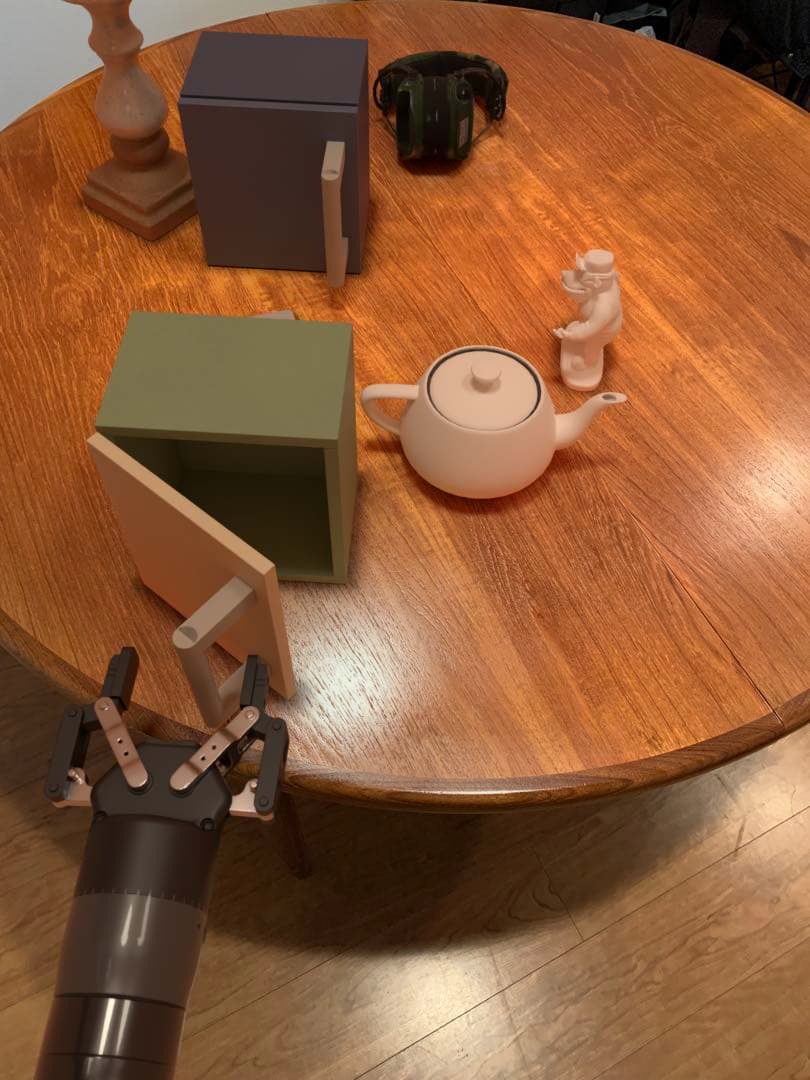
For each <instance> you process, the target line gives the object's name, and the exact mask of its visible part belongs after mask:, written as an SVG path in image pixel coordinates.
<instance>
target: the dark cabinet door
mask: <svg viewBox="0 0 810 1080" xmlns="http://www.w3.org/2000/svg"><path fill="white" fill-rule="evenodd" d="M176 106H177V109H178V116H179V120H180V127H181V131H182V137H183V143H184V148H185V152H186V156H187V158H188V163H189V169H190V174H191V179H192V184H193V190H194V195H195V200H196V205H197V211H198V212H197V214H198V215H197V216H198V221H199V226H200V231H201V236H202V242H203V247H204V252H205V257H206V263H207V266H221V267H222V266H223V267H224V266H226V267H242V268H258V269H259V268H261V269H278V270H292V271H293V270H294V271H313V272H326V278H327V281H326V282H327V284H328V286H329V287H330V288H332V289H338V288H341V287H343V286H344V284H345V278H346V277H345V276H346V273H347V274H348V273H349V274H351V273H353V274H361V273H362V266H361V220H360V172H359V125H358V107H353V106H334V105H315V104H296V103H278V102H259V101H240V100H221V99H202V98H183V97H180V96H179V97H178V100H177V102H176Z"/></svg>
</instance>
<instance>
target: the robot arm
mask: <svg viewBox="0 0 810 1080" xmlns="http://www.w3.org/2000/svg"><path fill="white" fill-rule="evenodd" d="M139 667H140V655H139V653H138V652H137V649H136V647H135V646H125V645H123V646H122V647H121V649H120V653H119V654H117V653H114V654H113V655H112V657H111V658H110V660H109V662H108V665H107V670H106V673H105V677H104V681H103V684H102V688H101V691H100V694H99V697H98V699H96V700H95V701H94V702H92V703H89V704H84V705H79V704H76V703H73V704H69V705H67V706H66V707H65V708H64V710H63V712H62V716H61V719H60V723H59V727H58V730H57V735H56V739H55V743H54V747H53V751H52V754H51V758H50V762H49V766H48V770H47V774H46V778H45V781H44V786H43V794H44V796H45V797H46V798H47V799H48V801H49V802H50V803H51V804H52V805H53V806H54V807H55V808H56V809H57V810H58V811H61V812H68V811H69V810H71V809H72V808H73V807H91V808H92V820H91V823H90V826H89V829H88V834H87V838H86V842H85V845H84V850H83V854H82V858H81V862H80V866H79V870H78V874H77V878H76V882H75V886H74V889H73V894H72V898H71V902H70V906H69V910H68V914H67V918H66V923H65V926H64V930H63V933H62V939H61V942H60V946H59V952H58V959H57V965H56V967H57V968H56V975H55V984H54V990H53V994H52V997H53V999H52V1000H51V1003H50V1007H49V1011H48V1016H47V1019H46V1023H45V1028H44V1032H43V1036H42V1040H41V1043H40V1047H39V1051H38V1056H37V1059H36V1064H35V1069H34V1073H33V1077H32V1080H176V1076H177V1075H176V1074H177V1067H178V1062H179V1056H180V1050H181V1046H182V1045H181V1044H182V1038H183V1034H184V1033H183V1032H184V1027H185V1021H186V1016H187V1015H186V1014H187V1010H188V1006H189V1001H190V997H191V994H192V990H193V987H194V983H195V981H196V978H197V974H198V969H199V966H200V960H201V956H202V951H203V947H204V944H205V943H206V939H207V932H208V927H207V921H208V915H209V909H210V903H211V896H212V890H213V884H214V878H215V873H216V867H217V860H218V854H219V849H220V843H221V838H222V833H223V829H224V827H225V826H226V823H227V822H228V820H230V819H231V817H232V816H237V817H246V818H258V821H259V822H260V823H261V824H263V825H268V826H269V825H272V824H274V823H275V822H276V821H277V820H278V816H279V810H280V805H281V798H282V793H283V786H284V779H285V775H286V769H287V768H286V767H287V762H288V755H289V750H290V742H291V738H290V734H289V730H288V724H287V722H286V720H285V719H284V718H282V717H277V716H276V717H273V716H270V715H268V714H267V713H266V709H267V708H266V707H267V700H268V693H269V688H270V686H269V682H270V680H269V675H268V671H267V667H266V664H261V660H260V656H259V655H249V654H248V656H247V662H246V668H245V673H244V679H243V685H242V691H241V697H240V703H239V705H240V708H239V709H240V711H239V712H238V713H237V715H235V717H233V719H232V720H230V722H229V723H227V724H226V726H224V727H223V728H219V729H218V730H217V731H215V732H214V733H213V735H212V736H210V737H209V739H208V740H206V741H205V743H204V744H200V743H198V740H193V739H180V740H175V741H169V740H166V739H163V738H160V737H145V740H143V741H140V742H137V743H135V741H134V739H133V737H132V735H131V733H130V731H129V728H128V727H127V725H126V722H125V720H124V718H123V714H124V712H128V711H129V709H130V704H131V700H132V697H133V692H134V687H135V685H136V680H137V675H138V671H139ZM99 730H103V731H104V735H105V737H106V739H107V741H108V743H109V745H110V747H111V749H112V751H113V754H114V757H115V758H116V760H117V761H116V762H115V764H113V765H112V766H111V767H110V768H109V769H108V770H107V771H106V772H105V773H104V774H103V775H102V776H100V777H99V778H98V780H97V781H95V782H94V784H93V785H92V786H91V785H90V784H89V783H90V778H89V776H88V774H87V773H86V772H85V770H84V765H85V761H86V758H87V754H88V748H89V745H90V741H91V737H92V732H96V731H99ZM257 740H259V741H262V742H263V747H262V753H261V760H260V764H259V770H258V775H257V778H253V779H250V780H249V781H247V782H246V784H245V786H244V789H243V790H242V791H241V793H239V794H237V795H233V794H232V791H231V789H230V787H229V785H228V783H227V782H226V779H225V778H226V777H227V776H228V775H229V774H230V773H231V772H232V771H233V770H234V769H235V768H236V766H238V764H239V763H240V762H241V760H242V758H243V756H244V755H245V753H246V752H248V751H249V749H250V748H251V747H252V746H253V745H254V743H255V742H257Z"/></svg>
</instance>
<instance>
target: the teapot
mask: <svg viewBox="0 0 810 1080" xmlns="http://www.w3.org/2000/svg"><path fill="white" fill-rule="evenodd" d="M359 398H360V399H359V402H360V407H361V408H362V409H361V410H362V411H363V413H364V415H366V416H367V418H368V419H369V420H371V422H373V423H374V424H375V425H377V426H379V427H380V428H382V429H383V430H385V431H387V432H389V433H390V434H393V435H396V436H398V437H399V438H400V444H401V447H402V450H403V454H404V455H405V457H406V459H407V461H408V463H409V464H410V465H411V468H413V469H414V471H416V473H417V474H418V475H419V476H420V477H421V478H422V479H423V480H425V481H426V482H427V483H428V484H429V485H432V486H433V487H435V488H437V489H439V490H441V491H443V492H445V493H448V494H452V495H454V496H457V497H464V498H468V499H494V498H500V497H506V496H508V495H511V494H514V493H517V492H520V491H522V490H523V489H525V488H526V487H528V486H531V484H532V483H534V482H535V481H536V480H537V479H538V478H540V476H541V475H543V474H544V472H545V471H546V470H547V468H548V467H549V465H550V463H551V462H552V459H553V457H554V455H555V454H554V453H555V451H559V450H563V449H567V448H568V447H572V446H573V445H575V444H576V443H578V441H579V440H581V439H582V438H583V436H584V435H585V433H586V432H587V431H588V430H589V428H590V426H591V424H592V423H593V422H594V421H595V419H596V417H597V416H598V415H599V414H600V413H601V412H603V411H605V409H607V408H609V407H612V406H615V405H617V404H618V405H619V404H621V403H624V402H626V401H627V399H628V397H627V395H625V394H624V393H621V392H614V391H611V392H609V391H608V392H607V391H606V392H600V393H598V394H596V395H594V396H591V398H589V399H588V400H586V401H585V402H583V404H582V405H581V406H580V407H579V408H577V409H576V410H573V411H571V412H566V413H559V414H556V410H555V405H554V403H553V401H552V398H551V396H550V393H549V390H548V388H547V386H546V383H545V382H544V380H543V378H542V375H541V374H540V373H539V371H538V370H537V369H536V367H535V366H534V365H533V364H531V362H530V361H529V360H527V359H526V358H524V357H523V356H521V355H519V354H518V353H516V352H514V351H511V350H509V349H506V348H502V347H499V346H493V345H485V344H479V345H478V344H475V345H474V344H473V345H466V346H461V347H457V348H455V349H451V350H449V351H447V352H445V353H444V354H441V355H440V356H438V358H436V359H435V360H433V362H432V363H431V364H430V365H429V366H428V367H427V369H426V370H425V371H424V372H423V373H422V375H421V376H420V377H419V378H418V380H417V381H416V382H415V384H407V383H375V384H374V383H373V384H370V385H367V386H366V387H364V388H363V390H362V391H361V393H360V397H359ZM381 399H383V400H385V399H386V400H387V399H388V400H389V399H390V400H405V403H404V406H403V408H402V413H401V417H400V420H399V419H397V418H395V417H393V416H390V415H389V414H387V413H386V412H384V411H383V410H382V409H381V408H379V406H378V405H377V404H376V403H375V401H374V400H381Z"/></svg>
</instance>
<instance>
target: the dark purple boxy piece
mask: <svg viewBox="0 0 810 1080" xmlns="http://www.w3.org/2000/svg"><path fill="white" fill-rule="evenodd" d="M369 77H370V76H369V39H365V38H348V37H330V36H329V37H327V36H310V35H309V36H308V35H293V34H292V35H290V34H272V33H252V32H251V33H250V32H233V31H215V30H214V31H213V30H201V32H200V35H199V38H198V40H197V43H196V46H195V49H194V52H193V55H192V57H191V60H190V63H189V66H188V69H187V71H186V75H185V77H184V81H183V82H182V83H183V84H182V86H181V89H180V92H179V97H183V98H202V99H221V100H240V101H259V102H278V103H296V104H315V105H334V106H353V107H358V125H359V172H360V220H361V267H362V266H363V259H364V250H365V243H366V238H367V237H366V236H367V229H368V220H369V212H370V205H371V173H370V168H371V167H370V166H371V165H370V163H371V161H370V87H369V86H370V85H369V84H370V79H369Z"/></svg>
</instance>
